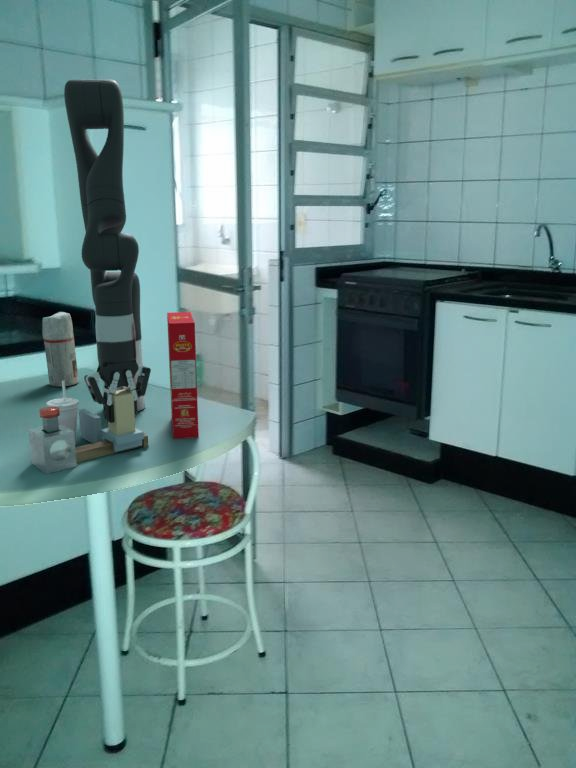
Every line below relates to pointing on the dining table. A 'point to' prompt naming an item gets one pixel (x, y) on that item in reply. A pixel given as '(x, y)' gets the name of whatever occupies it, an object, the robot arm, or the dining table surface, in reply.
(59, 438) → the gauge cabinet
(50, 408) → the gauge button
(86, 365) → the dining table surface
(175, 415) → the food packaging
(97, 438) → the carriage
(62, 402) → the smoothie
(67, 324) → the spray can
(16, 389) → the dining table surface
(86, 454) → the rail
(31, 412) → the dining table surface
